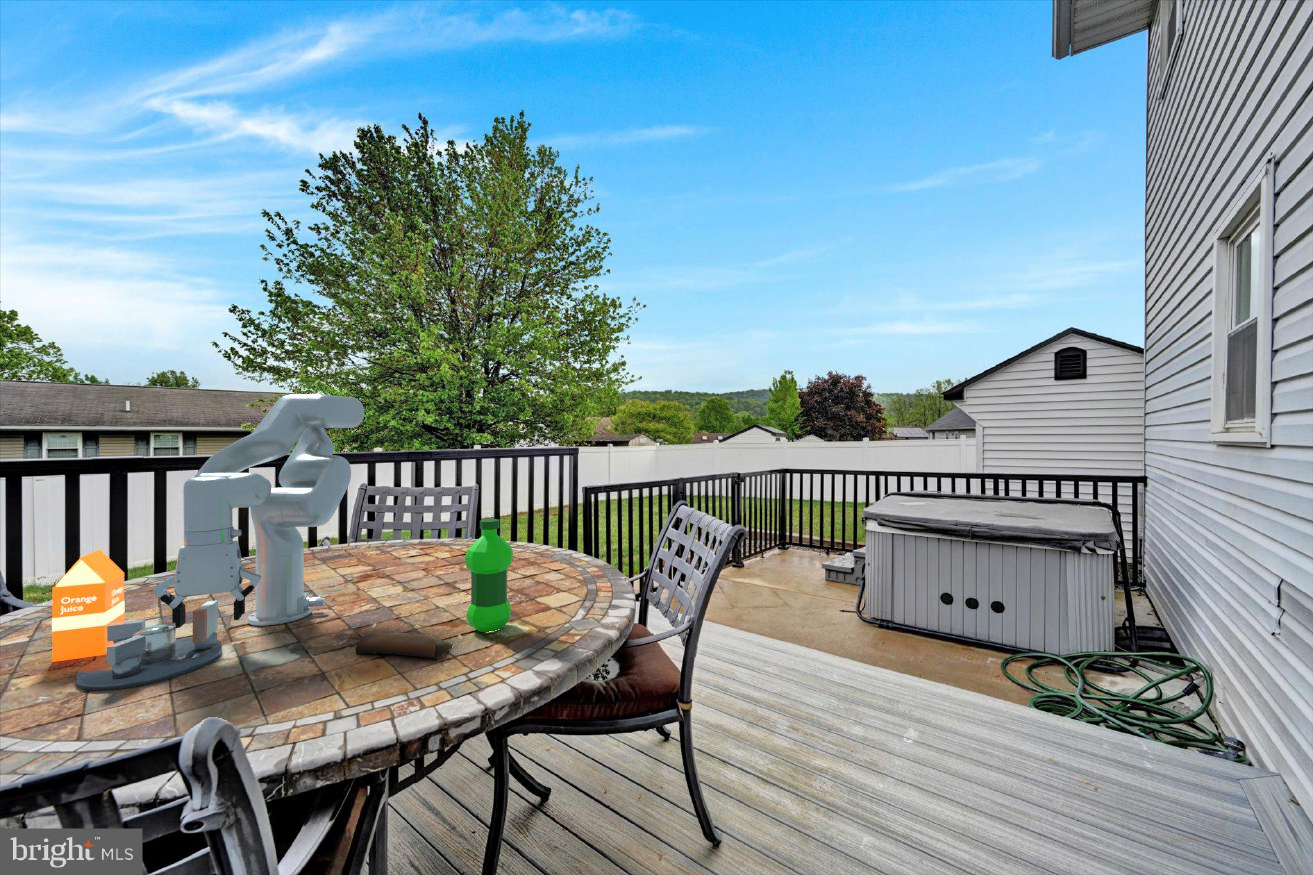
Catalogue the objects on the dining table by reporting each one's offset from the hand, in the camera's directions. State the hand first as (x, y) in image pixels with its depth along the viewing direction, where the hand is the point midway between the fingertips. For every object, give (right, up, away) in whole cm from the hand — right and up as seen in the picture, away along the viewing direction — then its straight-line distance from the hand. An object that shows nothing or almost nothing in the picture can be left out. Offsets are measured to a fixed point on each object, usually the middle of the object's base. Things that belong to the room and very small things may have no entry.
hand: (209, 621), depth 106 cm
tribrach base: (-6, -6, -6) cm, 10 cm away
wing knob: (0, -5, -1) cm, 5 cm away
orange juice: (-26, -7, +1) cm, 27 cm away
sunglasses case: (+40, -7, +2) cm, 40 cm away
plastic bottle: (+53, -7, +13) cm, 55 cm away
